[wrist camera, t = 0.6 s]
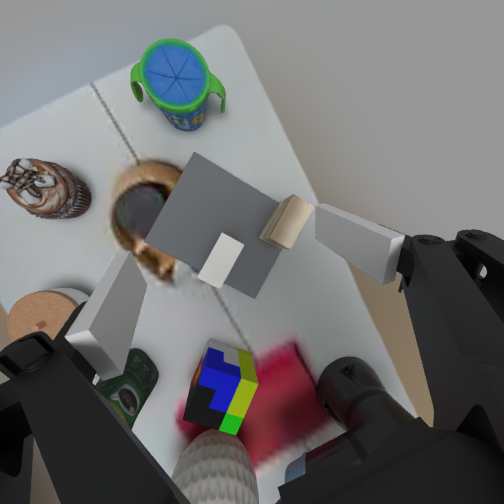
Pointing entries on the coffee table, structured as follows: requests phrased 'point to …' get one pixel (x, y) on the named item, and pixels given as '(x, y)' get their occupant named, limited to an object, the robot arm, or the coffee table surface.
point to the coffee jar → (130, 387)
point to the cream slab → (220, 261)
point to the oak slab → (285, 222)
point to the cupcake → (46, 189)
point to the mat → (216, 223)
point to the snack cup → (176, 82)
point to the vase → (216, 471)
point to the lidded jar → (43, 312)
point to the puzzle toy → (221, 388)
